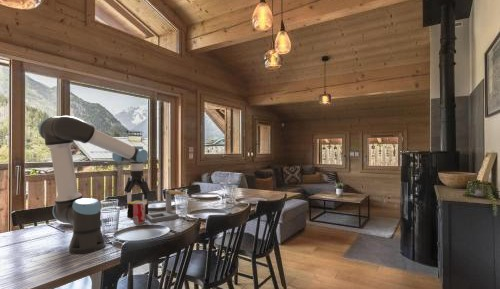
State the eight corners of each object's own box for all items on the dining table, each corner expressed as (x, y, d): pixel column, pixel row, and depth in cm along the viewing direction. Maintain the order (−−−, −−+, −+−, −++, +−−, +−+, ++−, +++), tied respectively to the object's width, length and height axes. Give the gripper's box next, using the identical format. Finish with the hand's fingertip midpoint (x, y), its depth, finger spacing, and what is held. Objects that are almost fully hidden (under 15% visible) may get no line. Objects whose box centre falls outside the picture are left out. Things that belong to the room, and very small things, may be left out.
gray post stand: (151, 222, 176) (150, 199, 176) (145, 217, 188) (145, 195, 187) (178, 218, 186) (178, 195, 186) (171, 213, 198) (171, 192, 198)
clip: (164, 193, 193) (164, 188, 193) (167, 192, 196) (167, 188, 196) (182, 195, 187) (181, 190, 187) (185, 194, 190) (185, 189, 190)
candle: (126, 217, 189) (126, 203, 189) (136, 214, 199) (136, 200, 199) (139, 218, 186) (138, 204, 186) (148, 215, 196) (148, 200, 196)
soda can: (142, 224, 173) (142, 203, 173) (131, 224, 173) (131, 203, 173) (147, 221, 180) (147, 201, 180) (136, 221, 180) (136, 201, 180)
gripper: (118, 169, 178) (118, 202, 178) (146, 171, 167) (146, 206, 167) (128, 169, 185) (128, 200, 185) (155, 170, 174) (155, 204, 174)
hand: (136, 203), depth 176 cm, fingers open, 13 cm apart
